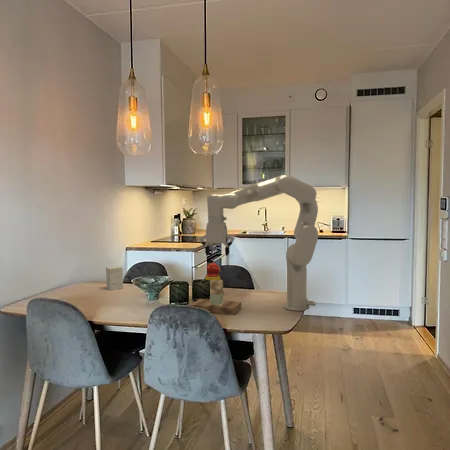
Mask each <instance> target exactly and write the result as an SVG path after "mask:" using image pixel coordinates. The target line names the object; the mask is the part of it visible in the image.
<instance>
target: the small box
mask: <svg viewBox="0 0 450 450" xmlns="http://www.w3.org/2000/svg"><path fill="white" fill-rule="evenodd" d="M105 274H106V276H105V277H106V280H105V281H106V289H107V290H109V291H114V290H119V289H124V273H123V266H121V265H115V266H107V267H105Z"/></svg>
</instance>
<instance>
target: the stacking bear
mask: <svg viewBox="0 0 450 450" xmlns="http://www.w3.org/2000/svg"><path fill="white" fill-rule="evenodd" d="M206 266H207V267H206V271H207V273H206V275H205V276H204V277H205V278H204V280H205V279H206V280H210V281H212V280H222V279H221V275H220V272H221V267H220V266H219V265H218V264H217V263H215V262H211V263H209V264H208V265H206ZM223 294H224V291H223Z"/></svg>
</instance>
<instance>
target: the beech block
mask: <svg viewBox="0 0 450 450" xmlns="http://www.w3.org/2000/svg"><path fill="white" fill-rule="evenodd" d="M223 292H224V280H222V279H221V280H212V281H210V294H215V295H220V294H221V293H223ZM223 294H224V293H223Z"/></svg>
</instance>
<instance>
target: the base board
mask: <svg viewBox="0 0 450 450" xmlns="http://www.w3.org/2000/svg"><path fill="white" fill-rule="evenodd" d="M191 306H194V307H199V308H203V309H206V310H208V311H210V312H212V313H211V314H217V313H221V315H229V314H233V315H232V316H235V315H236V314H237V313H238V312H239V311H240V310H241V309H242V301H233V300H232V301H231V300H223V303H222V304H221V305H213V304H210V299H204V298H198V299H197V300H196V301H194V302H193V303H192V304H190V307H191Z"/></svg>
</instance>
